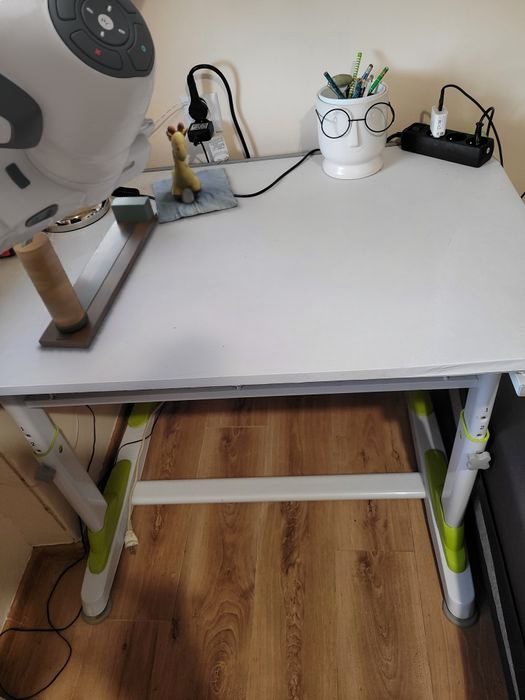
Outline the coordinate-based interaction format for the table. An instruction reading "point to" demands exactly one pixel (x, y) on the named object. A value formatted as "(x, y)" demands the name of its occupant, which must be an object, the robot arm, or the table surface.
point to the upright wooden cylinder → (52, 283)
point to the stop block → (132, 209)
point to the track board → (102, 281)
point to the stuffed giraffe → (190, 185)
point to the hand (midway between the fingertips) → (57, 219)
